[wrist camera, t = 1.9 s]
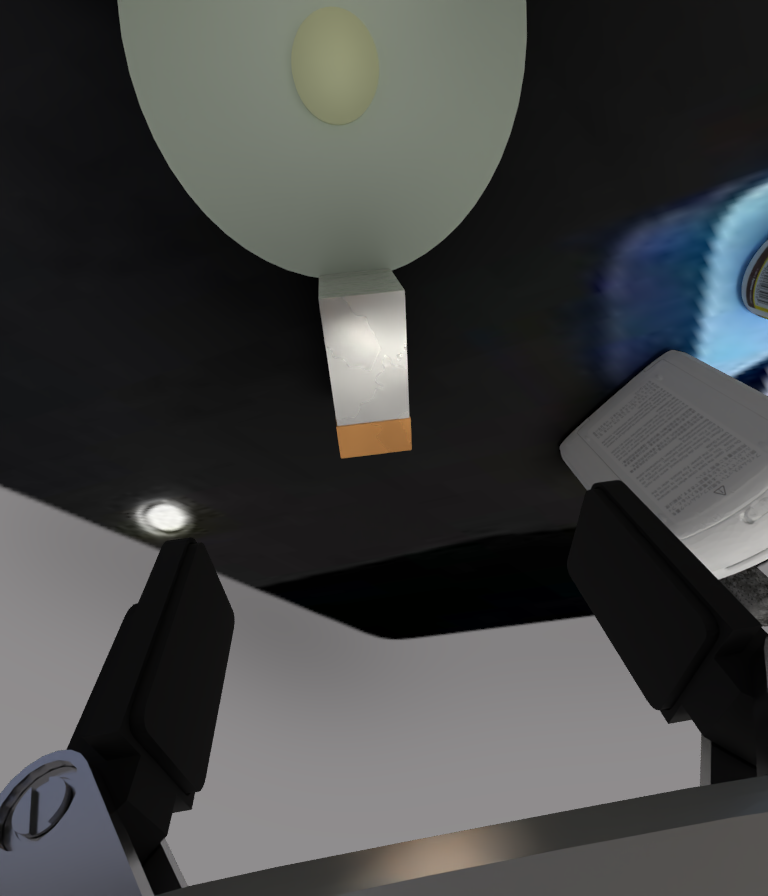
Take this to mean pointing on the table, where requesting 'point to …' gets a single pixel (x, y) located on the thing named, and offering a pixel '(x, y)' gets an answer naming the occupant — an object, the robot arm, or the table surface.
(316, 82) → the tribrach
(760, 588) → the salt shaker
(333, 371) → the orange-tipped grey block
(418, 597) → the table surface
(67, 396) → the table surface
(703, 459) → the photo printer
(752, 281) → the supplement bottle
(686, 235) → the table surface
